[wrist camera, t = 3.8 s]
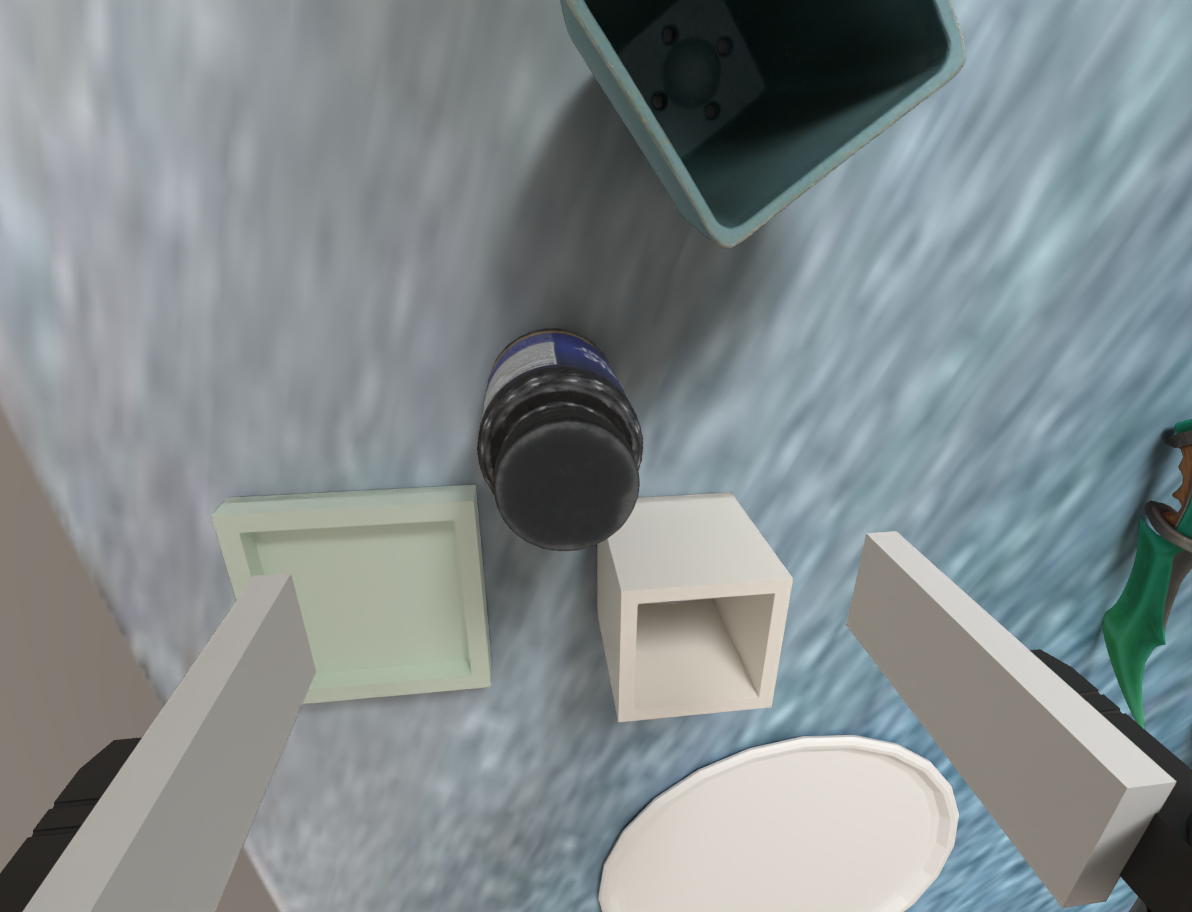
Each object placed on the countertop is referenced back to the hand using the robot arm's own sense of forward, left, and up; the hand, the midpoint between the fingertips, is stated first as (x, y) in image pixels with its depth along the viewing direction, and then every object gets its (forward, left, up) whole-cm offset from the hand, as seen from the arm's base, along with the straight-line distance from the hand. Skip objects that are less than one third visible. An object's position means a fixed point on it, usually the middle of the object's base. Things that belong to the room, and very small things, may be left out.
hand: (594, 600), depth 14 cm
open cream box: (+10, +6, -17) cm, 20 cm away
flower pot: (-13, +6, -17) cm, 22 cm away
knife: (+13, +37, -17) cm, 42 cm away
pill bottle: (0, 0, -17) cm, 17 cm away
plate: (+40, +17, -17) cm, 47 cm away
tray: (+11, -10, -17) cm, 22 cm away
